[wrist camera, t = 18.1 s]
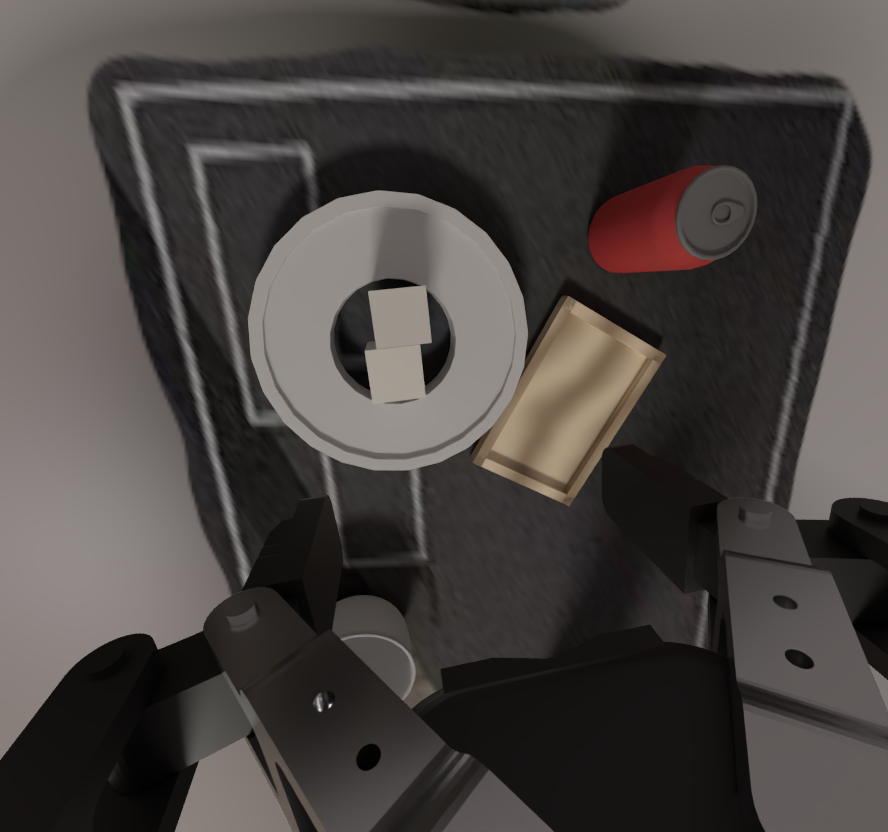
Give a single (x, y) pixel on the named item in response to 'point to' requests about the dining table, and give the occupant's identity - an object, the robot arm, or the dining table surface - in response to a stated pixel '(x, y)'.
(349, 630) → the teacup
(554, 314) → the tray
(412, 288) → the stone block
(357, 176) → the dining table surface
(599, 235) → the beer can
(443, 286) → the ashtray
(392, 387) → the stone block
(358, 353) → the dining table surface
